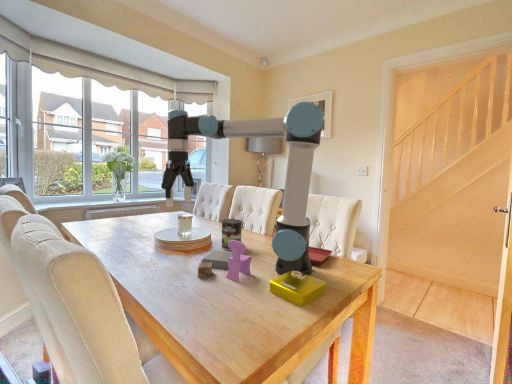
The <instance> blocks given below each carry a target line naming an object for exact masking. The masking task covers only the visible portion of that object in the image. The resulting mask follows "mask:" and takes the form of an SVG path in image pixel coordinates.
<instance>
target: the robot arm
mask: <svg viewBox="0 0 512 384" xmlns="http://www.w3.org/2000/svg"><path fill="white" fill-rule="evenodd" d="M323 128H324V116H323V112H322V111H321V109H320V107H319V106H317V105H316V104H315V103H313V102H311V101H300V102H297V103H295V104H294V105H292V106H291V107H290V108H289V110H288V111H287V113H286V116H284V117H269V118H268V117H267V118H266V117H265V118H262V117H261V118H244V119H243V118H239V119H238V118H237V119H219V120H218V119H217V117H216V115H214V114H206V113H205V114H197V115H195V114H194V115H188V111H186V110H184V109H170V110H169V111H168V112H167V133H168V134H167V135H168V137H167V138H168V140H167V141H168V143H167V145H168V146H167V147H168V150H169V151H168V152H167V153H168V161H169V162H166V163H165V170H164V175H163V178H162V182H161V186H160V188H161V189H162V190H164V192H165V194H164V195H165V207H168V208H173V207H174V189H173V186H174V184H175V182H176V179H177V178H178V176H180V178H181V179H182V181H183V184H184V185H185V186H183V189H184V192H183V194H184V196H183V197H184V203H192V187H194V185H195V183H194V182H195V181H194V176H193V174H192V170H191V164H190V163H189V162H188V161H189V152H188V150H189V136H201V137H202V136H203V137H207V138H211V139H214V140H223V139H244V138H245V139H246V138H249V139H250V138H251V139H252V138H285V144H286V145H287V146H288V156H287V164H286V166H287V167H286V174H285V182H284V190H283V199H282V205H281V206H282V209H281V214H280V215H279V216H278V217H277V218H276V220H275V221H276V223H275V230H274V231H275V232H274V234H273V236H272V238H271V248H272V250H273V252H274V254H275V255H276V256H277V260H276V263H275V272H277V274H279V276H280V275H282V274H285V273H287V272H290V271H292V270H296V271H299V272H302V273H304V274H307V275H310V276H312V273H313V266H312V265H313V264H311V261H310V257H309V246H310V229H311V221H310V218H309V217H308V216H307V211H308V210H307V209H308V202H309V193H310V186H311V179H312V177H311V176H312V170H313V163H314V155H315V150H316V149H317V148H318V147H320V144H321V137H322V136H321V135H322V131H323ZM187 162H188V163H187Z"/></svg>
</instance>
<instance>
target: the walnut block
mask: <svg viewBox="0 0 512 384" xmlns="http://www.w3.org/2000/svg"><path fill="white" fill-rule="evenodd" d="M212 274H213V267H212V263H201V262H199V264H198V266H197V278H211V277H212Z"/></svg>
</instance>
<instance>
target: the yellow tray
mask: <svg viewBox="0 0 512 384" xmlns="http://www.w3.org/2000/svg"><path fill="white" fill-rule="evenodd" d="M326 287H327V283H326V281H325V280H323V279H320V278H318V277H314V276H312V275H307V274H304V273H302V272H299V271H296V270H292V271H290V272H287V273H285V274H282V275H280V274H279V275H278V276H276V277H275V276H274V277H273V278H271V279H270V280H269V292H270V293H271V294H272V295H275V296H277V297H279V298H281V299H283V300H284V301H287V302H288V303H291V304H293V305H295V306H297V307H306V306H308V305H310V304H311V303H313V302H315V301H317V300H318V299H321V297H324V296H325V294H326V292H327V291H326Z"/></svg>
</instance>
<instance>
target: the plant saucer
mask: <svg viewBox="0 0 512 384" xmlns="http://www.w3.org/2000/svg"><path fill="white" fill-rule="evenodd" d="M332 253H333V250H329V249H324V248H320V247H314V246H310V245H309V257H310V261H311V265H313V266H318V267H319V266H320V265H321V264H322V263H323V262H325V260H326V259H328V257H330V256H331V255H332Z"/></svg>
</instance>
